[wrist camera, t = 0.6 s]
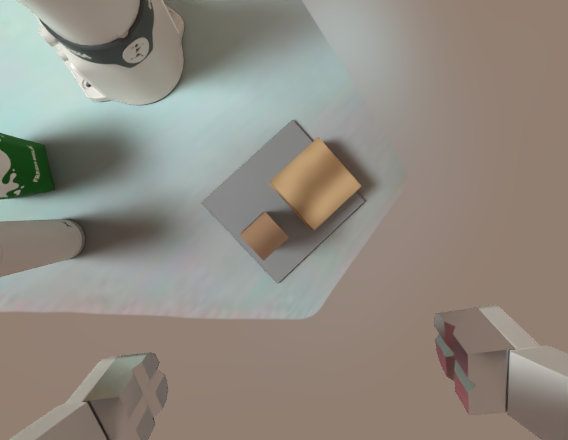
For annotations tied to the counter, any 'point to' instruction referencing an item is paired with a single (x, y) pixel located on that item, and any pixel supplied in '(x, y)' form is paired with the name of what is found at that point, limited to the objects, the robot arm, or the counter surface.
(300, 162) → the oak base block
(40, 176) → the milk carton
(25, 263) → the travel mug
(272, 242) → the walnut column
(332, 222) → the grey mat
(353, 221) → the counter surface
